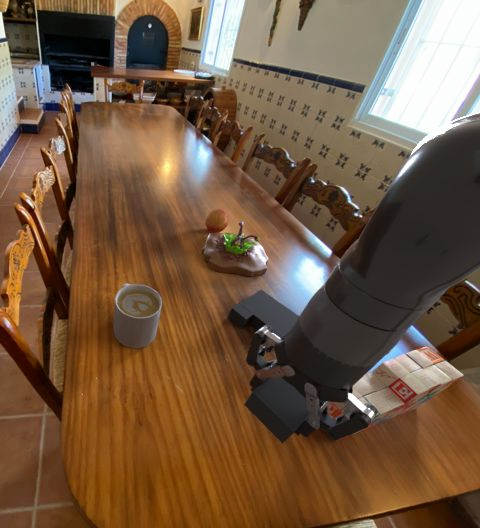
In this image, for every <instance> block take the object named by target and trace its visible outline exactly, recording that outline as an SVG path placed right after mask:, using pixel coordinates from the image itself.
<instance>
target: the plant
mask: <svg viewBox="0 0 480 528" xmlns="http://www.w3.org/2000/svg"><path fill="white" fill-rule="evenodd" d="M237 225H238V226H239V230H238V233H233V232H228V231H227V232H219V233H212V232H209V234H208V235H207V238H206V240H205V244H204V246H203V247H202V248H201V252H200V253H201V254H202V259H203V260H204V262H207V263H208V264H207V266H208V267H209V269H211V270H214V271H215V272H218V273H223V274H235V275H241V276H245V277H248V278H252V277H259V276H260V275H265V274H266V273H267V270H268V266H267V264H268V262H269V257H268V256H267V253H266V251H265V249H264V247H263V246H262V245H261V243H260V237H259V236H258V235H256V234H255V235H254V234H248V235H246V236H245V235H244V233H243V229H244V228H243V226H244V221H239V222H238V224H237ZM253 238H254V239H253Z"/></svg>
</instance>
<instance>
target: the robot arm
mask: <svg viewBox="0 0 480 528" xmlns="http://www.w3.org/2000/svg"><path fill="white" fill-rule="evenodd" d="M478 271H480V111H479V112H476V113H475V112H474V113H472V114H468V115H466V116H465V115H464V116H463V117H460V118H457V119H455V120H453V121H450V122H448V123H446V124H443V125H442V126H440V127H438V128H437V129H435V130H434V131H432V132H431V133H429V134H428V135H427V136H425V137H424V138H423V139H422V140H421V141H419V143H418V144H417V146H416V147H415V148H414V149H413V150H412V152H411V153H410V155H409V156H408V157H407V158H406V159H405V161H404V162H403V164H402V165H401V167H400V168H399V169H398V171H397V172H396V174H395V176H394V178H393V179H392V180H391V182H390V184H389V185H388V187H387V189H386V191H385V192H384V193H383V196H382V197H381V199H380V201H379V202H378V204H377V206H376V207H375V208H374V211H373V213H372V214H371V216H370V217H369V219H368V221H367V223H366V224H365V227H364V228H363V230H362V232H361V234H360V235H359V237H358V239H356V240H355V241H354V242H353V243H352V244H351V245H350V246H349V248H348V249H346V251H345V252H344V254H343V255H342V256H341V257H340V259H339V261H338V262H337V264H336V265H335V266H334V268H333V270H332V271H331V273H330V274H329V276H328V277H327V279H326V280H325V282H324V283H323V284H322V285H321V287H320V288H319V289H318V290H316V292H315V293H314V294H313V295H312V296H311V298H310V299H309V300H308V302H307V303H306V305H305V306H304V309H303V310H302V311H301V313H300V314H299V315H298V316H299V318H298V319H297V321H296V322H295V324H294V325H293V327H292V328H291V330H290V331H289V333H288V334H287V336H286V337H285V338H282V339H281V338H279V337H278V336H276V335H274V334H273V333H272V332H273V329H272V327H271V326H269V325H265V326H264V327H262V328H261V329H259V330H258V331H257V330H256V332H254V333H253V335H252V338H251V341H250V345H249V347H248V351H247V354H246V358H245V362H246V364H247V365H248V366H250V367H253V368H254V370H255V372H254V375H253V376H252V378H251V379H250V381H249V387H251V389H250V392H251V393H252V392H253V391H254V390H255V389H256V388H257V387H259V386H260V385H261V384H262V383H263V382H265V381H266V380H267V379H268V378H271V379H273V378H278V377H282V378H283V379H284V380H285V381H286V382H287V383H289V384H290V385H292V386H294V387H295V388H296V390H297V391H298V392H299V393H300V394H301V395H302V396H304V397H305V398H306V410H307V411H308V416H307V418H306V419H305V420H304V421H303V422H302V424H301V425H300V426H299V428H298V429H297V430H296V431H295V432H294V433H293V434H295V435H296V436H297V437H299V436H302V437H304V438H308V437H309V436H310V435H311V434H313V433H314V432H315V431H316V430H318V429H319V430H323V431H324V432H325V436H327V437H328V438H329V439H330V440H332V441H336V440H338V439H341V438H343V437H345V438H347V437H346V436H348V435H350V434H353V433H355V432H358V431H360V430H363V429H365V428H367V427H368V426H369V425H370V423H371V422H372V421H373V419H374V418H375V416H376V415H377V413H378V410H377V408H376V407H375V406H373V405H371V404H368V403H366V404H363V403H362V402H360V401H359V400H358V399H357V398H356V397H355V396H354V395H353V394H352V392H353V385H354V384H356V383H357V382H358V381H359V380H360V379H361V378H362V377H363V376H364V375H365V374H367V373H369V372H370V370H372V369H373V368H374V367H375V366H376V365H377V364H378V363H379V362H380V361H381V360H382V359H383V358H385V356H387V355H389V354H390V353H391V351H392V350H394V348H395V347H396V346H397V345H398V344H399V342H400V341H401V340H402V339H403V337H404V335H405V334H406V333H407V331H408V330H409V329H410V328H411V327H412V326H414V324H416V322H417V321H419V319H421V318H422V317H423V316H424V315H425V314H426V313H427V312H428V311H429V310H430V309H431V308H432V307H433V306H435V304H436V303H437V302H438V301H439V300H440V299H441V298H442V296H443V295H444V294H445V292H447V291H448V289H450V288H451V287H453V286H455V285H458V284H459V283H461V282H463V281H465V280H466V279H468V278H469V277H470V276H472V275H473V274H475V273H476V272H478ZM270 346H274V349H273V350H274V354H275V358H276V359H273V360H269V361H268V360H266V359H265V355H266V352H267V351H268V350H267V348H269V347H270ZM330 402H339V403H342V402H344V404H345V405H346V408H345V409H344V413H345V414H343V415H341V416H339V417H337V418H336V419H335V418H333V417H332V416H330V415H329V404H330ZM363 431H364V430H363ZM348 437H349V436H348ZM343 439H344V438H343ZM341 440H342V439H341ZM338 441H339V440H338Z"/></svg>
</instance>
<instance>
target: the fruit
mask: <svg viewBox="0 0 480 528" xmlns="http://www.w3.org/2000/svg"><path fill="white" fill-rule="evenodd" d="M229 222H230V219H229V216H228V214H227V213H226V212H225V211H224V210H223V209H221V208H214V209H212V210H210V211H209V213H208V214H207V215H206V218H205V227H206V230H207V231H208V232H209V233H211V232H212V233H222V232H223V231H224V230H225V229H227V227H228V226H229Z"/></svg>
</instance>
